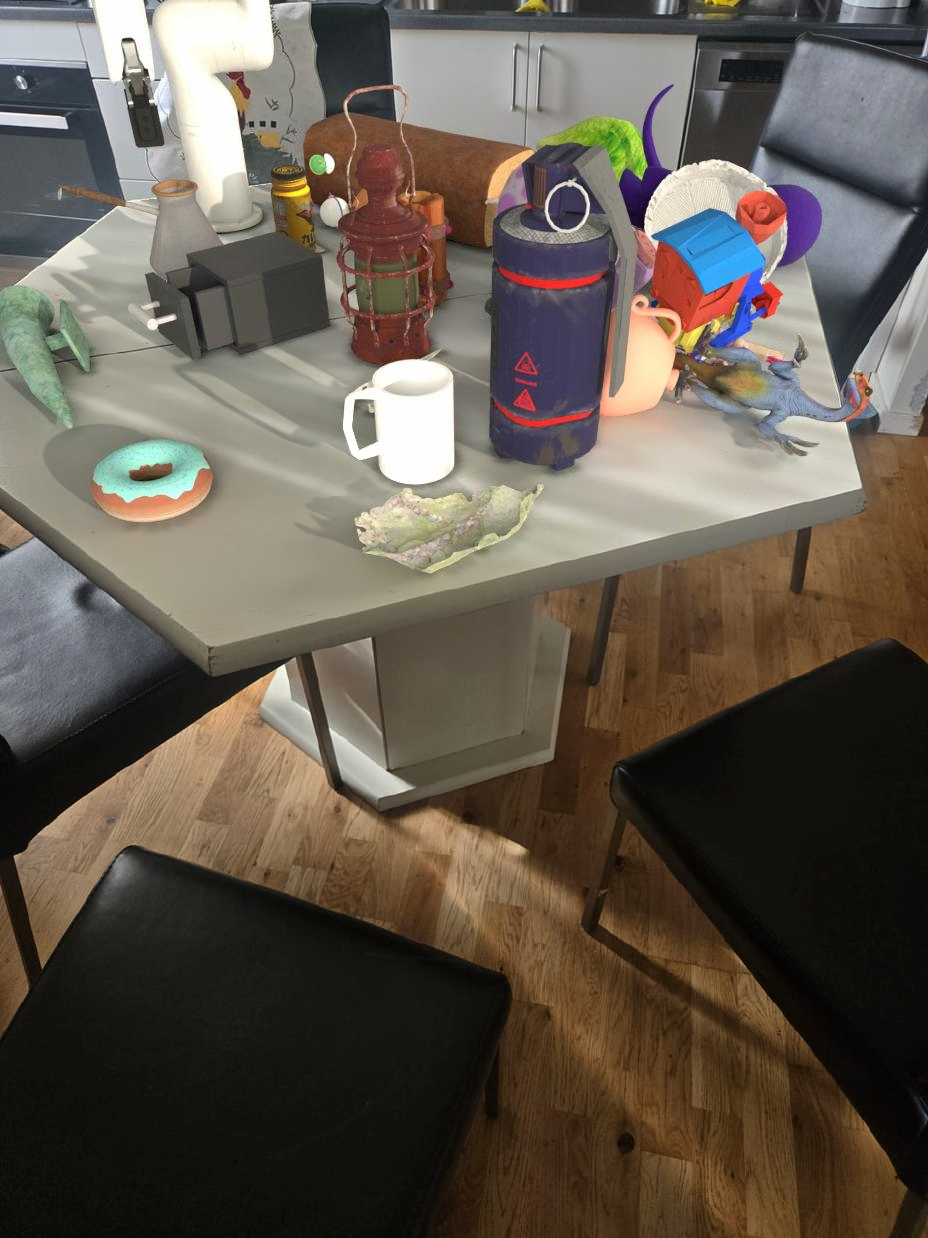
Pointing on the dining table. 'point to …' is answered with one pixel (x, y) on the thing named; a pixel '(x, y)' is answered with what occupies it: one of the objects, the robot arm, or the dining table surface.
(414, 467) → the cup
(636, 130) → the lettuce
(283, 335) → the cabinet
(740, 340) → the toy
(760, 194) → the toy train
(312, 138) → the bread
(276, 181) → the condiment
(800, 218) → the toy
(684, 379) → the toy dinosaur
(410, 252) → the lantern
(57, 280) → the dining table surface
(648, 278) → the toy
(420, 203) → the mug
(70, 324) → the decorative horn
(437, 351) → the jawbone
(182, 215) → the coffee pot
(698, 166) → the food container
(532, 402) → the canister
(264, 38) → the robot arm
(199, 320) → the drawer
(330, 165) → the toy
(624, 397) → the sugar bowl
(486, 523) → the cabbage leaf
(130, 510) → the donut
